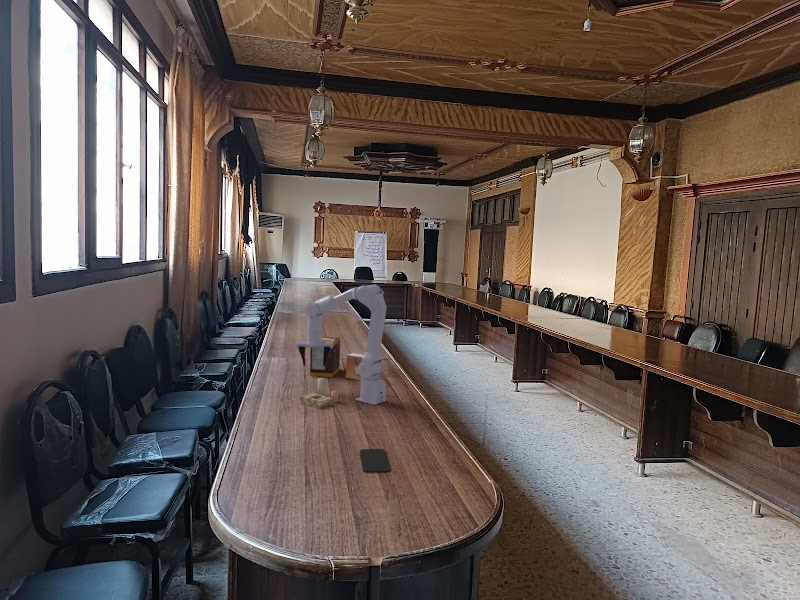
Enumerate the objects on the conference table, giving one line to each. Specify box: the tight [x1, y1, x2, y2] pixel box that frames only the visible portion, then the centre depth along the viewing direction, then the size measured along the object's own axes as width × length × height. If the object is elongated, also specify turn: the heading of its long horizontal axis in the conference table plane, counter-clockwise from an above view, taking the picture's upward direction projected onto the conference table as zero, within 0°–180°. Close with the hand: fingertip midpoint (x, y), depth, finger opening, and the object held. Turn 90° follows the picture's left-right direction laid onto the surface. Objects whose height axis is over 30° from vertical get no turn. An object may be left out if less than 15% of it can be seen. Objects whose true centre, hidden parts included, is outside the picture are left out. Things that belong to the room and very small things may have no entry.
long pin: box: [317, 377, 326, 396], centre depth 207 cm, size 3×3×8 cm
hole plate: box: [299, 392, 332, 409], centre depth 200 cm, size 10×6×2 cm, turn 55°
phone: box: [359, 448, 391, 474], centre depth 151 cm, size 7×1×15 cm
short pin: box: [330, 390, 339, 404], centre depth 204 cm, size 3×3×4 cm
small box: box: [345, 352, 364, 382], centre depth 239 cm, size 8×6×10 cm
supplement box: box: [309, 335, 341, 378], centre depth 247 cm, size 10×15×16 cm
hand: (314, 365), depth 217 cm, fingers open, 7 cm apart
